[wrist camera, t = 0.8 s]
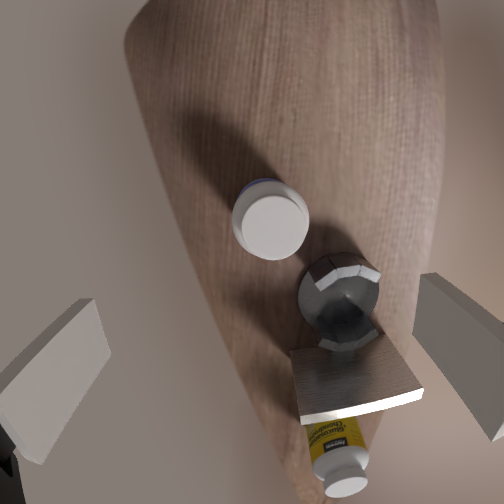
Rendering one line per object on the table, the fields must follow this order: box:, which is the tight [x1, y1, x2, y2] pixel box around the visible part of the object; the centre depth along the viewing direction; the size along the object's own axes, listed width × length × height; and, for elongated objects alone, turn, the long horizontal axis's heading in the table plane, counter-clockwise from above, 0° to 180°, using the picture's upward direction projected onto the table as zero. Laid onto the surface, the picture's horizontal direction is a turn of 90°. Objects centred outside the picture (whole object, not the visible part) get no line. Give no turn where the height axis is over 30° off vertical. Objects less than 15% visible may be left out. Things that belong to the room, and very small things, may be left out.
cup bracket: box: [289, 252, 423, 425], centre depth 25 cm, size 11×11×10 cm
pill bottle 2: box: [306, 416, 369, 497], centre depth 29 cm, size 6×6×12 cm
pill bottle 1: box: [232, 178, 309, 260], centre depth 23 cm, size 5×5×10 cm
